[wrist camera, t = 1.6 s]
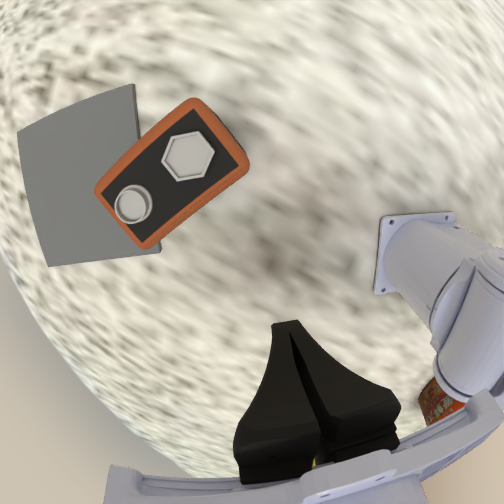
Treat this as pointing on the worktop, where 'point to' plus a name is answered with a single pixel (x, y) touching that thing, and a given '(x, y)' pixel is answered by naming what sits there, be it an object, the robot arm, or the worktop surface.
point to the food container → (437, 403)
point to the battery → (171, 173)
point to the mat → (79, 177)
